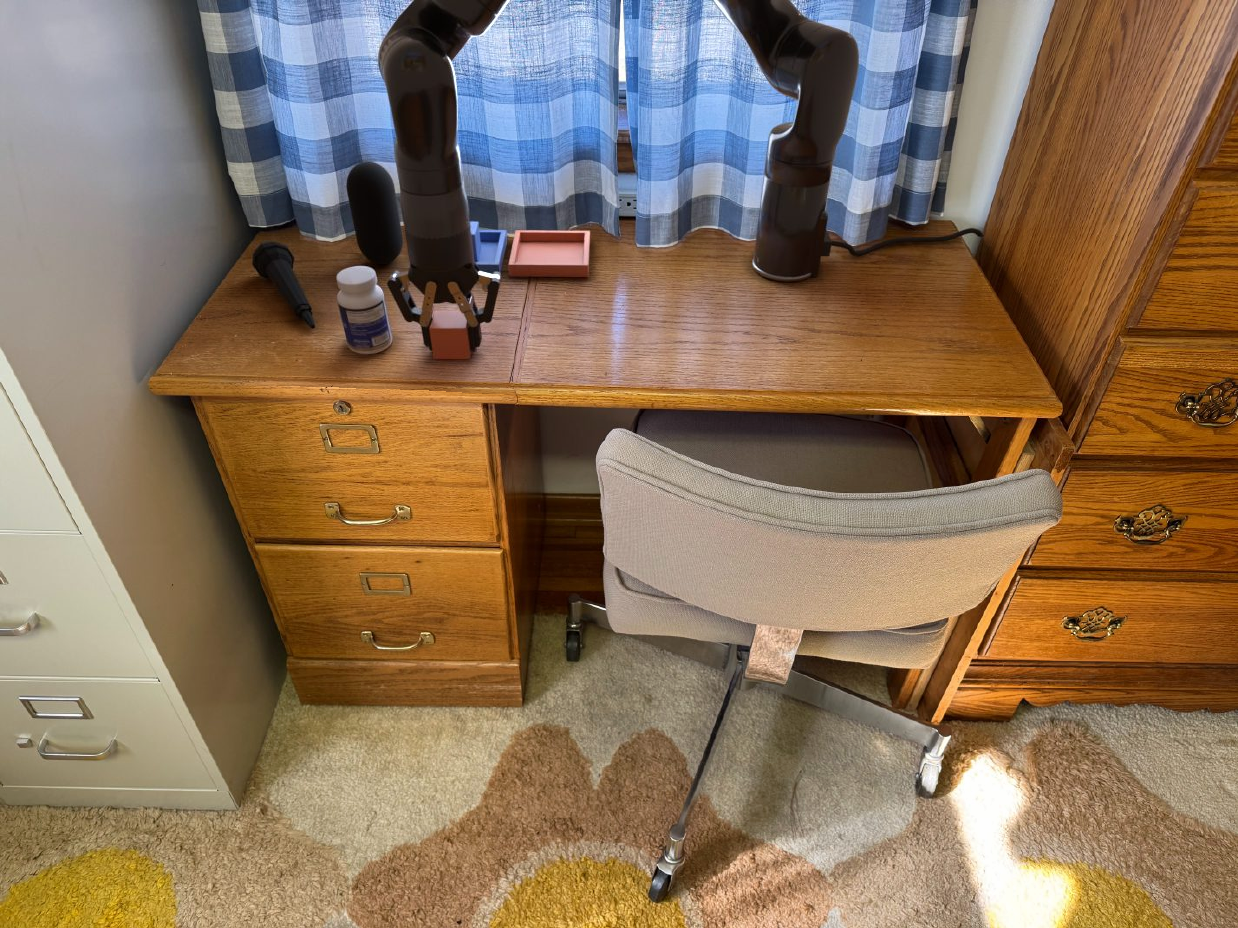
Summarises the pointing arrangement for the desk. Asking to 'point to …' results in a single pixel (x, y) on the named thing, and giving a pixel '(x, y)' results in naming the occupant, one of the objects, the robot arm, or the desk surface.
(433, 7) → the robot arm
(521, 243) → the terracotta tray
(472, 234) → the blue cube
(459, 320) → the terracotta cube
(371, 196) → the decorative object
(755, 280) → the desk surface
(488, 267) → the blue tray
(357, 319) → the pill bottle
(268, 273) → the microphone
